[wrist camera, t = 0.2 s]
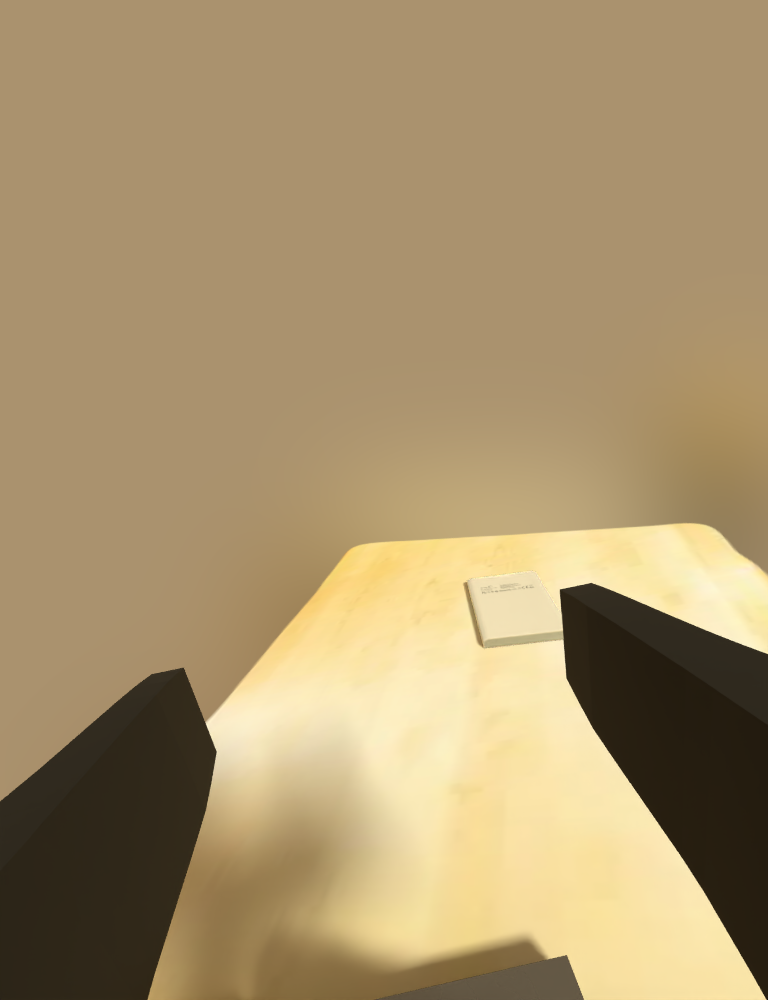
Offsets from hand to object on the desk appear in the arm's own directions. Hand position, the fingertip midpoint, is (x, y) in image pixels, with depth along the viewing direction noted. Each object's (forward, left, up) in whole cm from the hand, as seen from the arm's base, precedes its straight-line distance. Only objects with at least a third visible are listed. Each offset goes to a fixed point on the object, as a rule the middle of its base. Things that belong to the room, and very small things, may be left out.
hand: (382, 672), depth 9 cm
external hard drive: (+35, -14, -22) cm, 43 cm away
